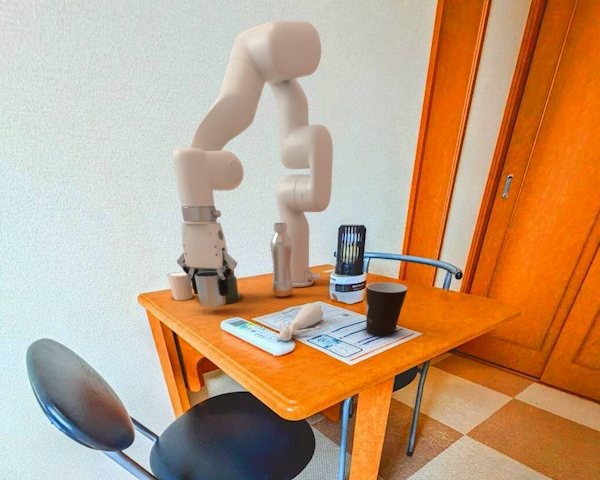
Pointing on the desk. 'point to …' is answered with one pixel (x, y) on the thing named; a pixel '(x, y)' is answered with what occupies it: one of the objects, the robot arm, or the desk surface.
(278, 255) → the silver metal bottle
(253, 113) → the robot arm
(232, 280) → the dark green tiered cylinder
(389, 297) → the coffee mug
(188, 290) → the pale pink short cylinder
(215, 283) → the silver cup
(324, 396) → the desk surface
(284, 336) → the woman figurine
